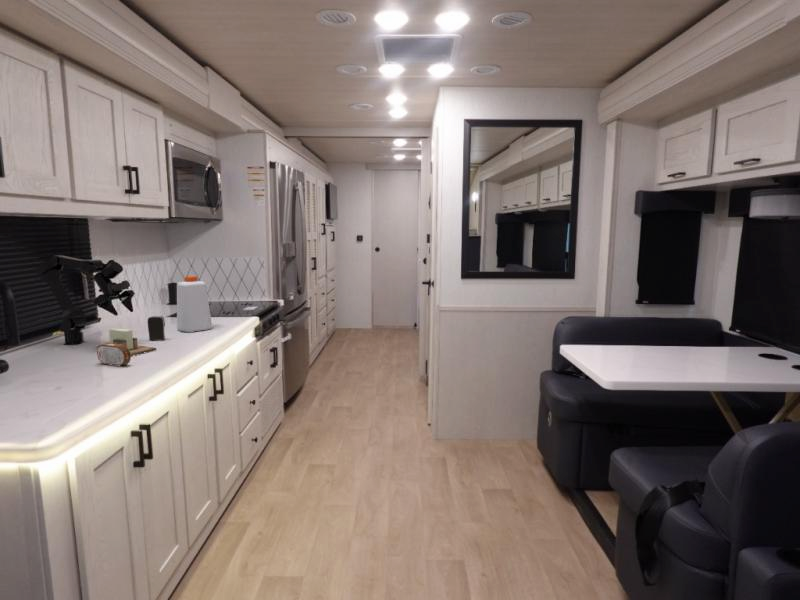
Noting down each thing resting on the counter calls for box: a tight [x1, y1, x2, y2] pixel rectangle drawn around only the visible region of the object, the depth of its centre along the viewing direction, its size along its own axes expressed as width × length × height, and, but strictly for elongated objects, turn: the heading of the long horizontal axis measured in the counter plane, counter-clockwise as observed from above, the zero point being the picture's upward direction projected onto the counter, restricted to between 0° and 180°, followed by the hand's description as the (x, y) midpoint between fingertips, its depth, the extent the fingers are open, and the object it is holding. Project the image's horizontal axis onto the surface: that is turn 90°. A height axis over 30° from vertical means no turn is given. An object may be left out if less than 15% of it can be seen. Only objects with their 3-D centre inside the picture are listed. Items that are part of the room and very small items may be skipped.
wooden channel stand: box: [113, 337, 157, 357], centre depth 207 cm, size 16×14×6 cm
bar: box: [108, 327, 134, 349], centre depth 208 cm, size 11×3×8 cm, turn 64°
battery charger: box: [147, 315, 166, 341], centre depth 229 cm, size 7×4×11 cm, turn 99°
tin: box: [96, 342, 132, 366], centre depth 187 cm, size 15×3×8 cm, turn 71°
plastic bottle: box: [176, 275, 213, 333], centre depth 252 cm, size 15×15×28 cm
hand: (124, 313), depth 216 cm, fingers open, 9 cm apart
